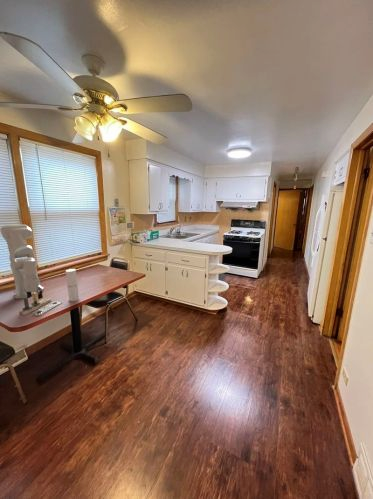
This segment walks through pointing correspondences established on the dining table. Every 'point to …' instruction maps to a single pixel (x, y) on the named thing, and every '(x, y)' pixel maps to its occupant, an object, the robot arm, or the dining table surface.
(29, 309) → the divider rail
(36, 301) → the slide pin
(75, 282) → the cylindrical container
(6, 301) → the dining table surface
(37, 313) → the flange plate
